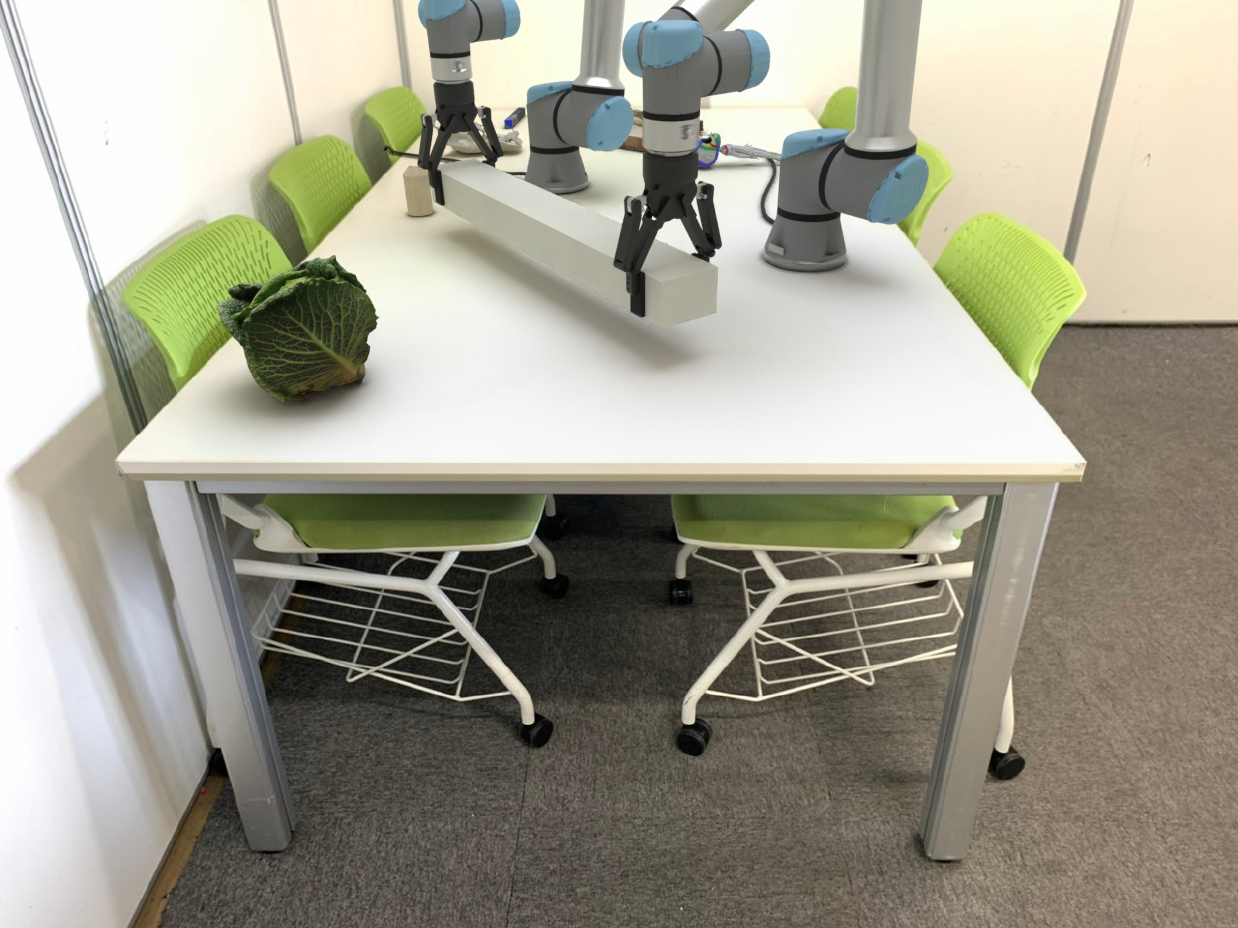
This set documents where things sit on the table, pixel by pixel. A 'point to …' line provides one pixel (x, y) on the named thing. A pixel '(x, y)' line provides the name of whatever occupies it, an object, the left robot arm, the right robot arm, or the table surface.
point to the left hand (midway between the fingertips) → (465, 199)
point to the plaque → (640, 132)
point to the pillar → (514, 117)
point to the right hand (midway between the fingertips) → (668, 305)
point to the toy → (727, 151)
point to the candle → (417, 191)
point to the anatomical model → (467, 144)
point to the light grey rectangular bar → (577, 242)
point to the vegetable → (302, 328)
